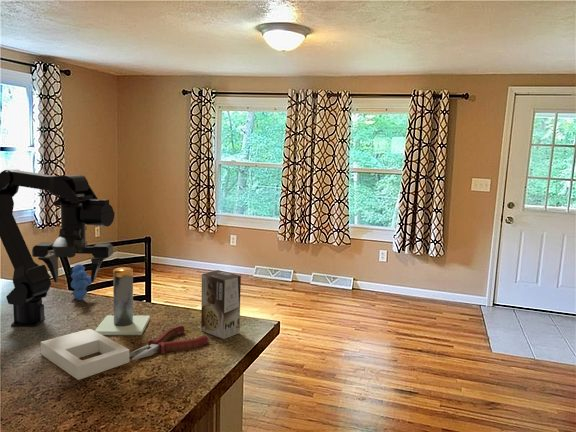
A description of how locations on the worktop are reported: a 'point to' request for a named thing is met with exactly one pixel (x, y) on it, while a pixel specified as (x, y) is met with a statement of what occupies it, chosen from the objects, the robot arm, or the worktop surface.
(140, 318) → the mat
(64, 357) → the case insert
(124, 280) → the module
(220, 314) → the coffee box
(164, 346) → the pliers
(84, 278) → the grapes
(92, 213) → the robot arm
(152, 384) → the worktop surface
